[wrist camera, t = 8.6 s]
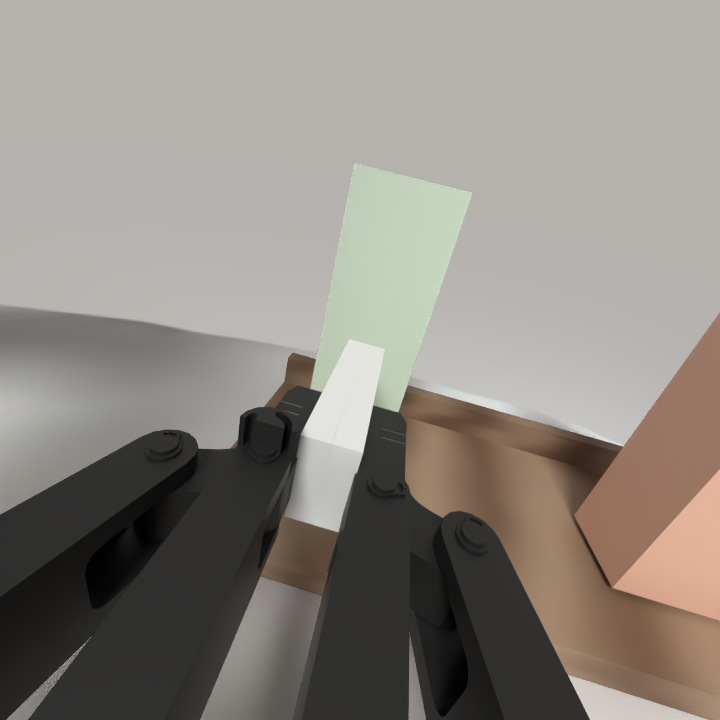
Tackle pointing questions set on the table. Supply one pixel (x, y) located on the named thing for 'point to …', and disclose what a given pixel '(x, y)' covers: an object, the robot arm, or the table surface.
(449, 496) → the wooden board
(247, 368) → the table surface
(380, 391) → the pale green block
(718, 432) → the salmon orange rectangular block
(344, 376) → the robot arm
